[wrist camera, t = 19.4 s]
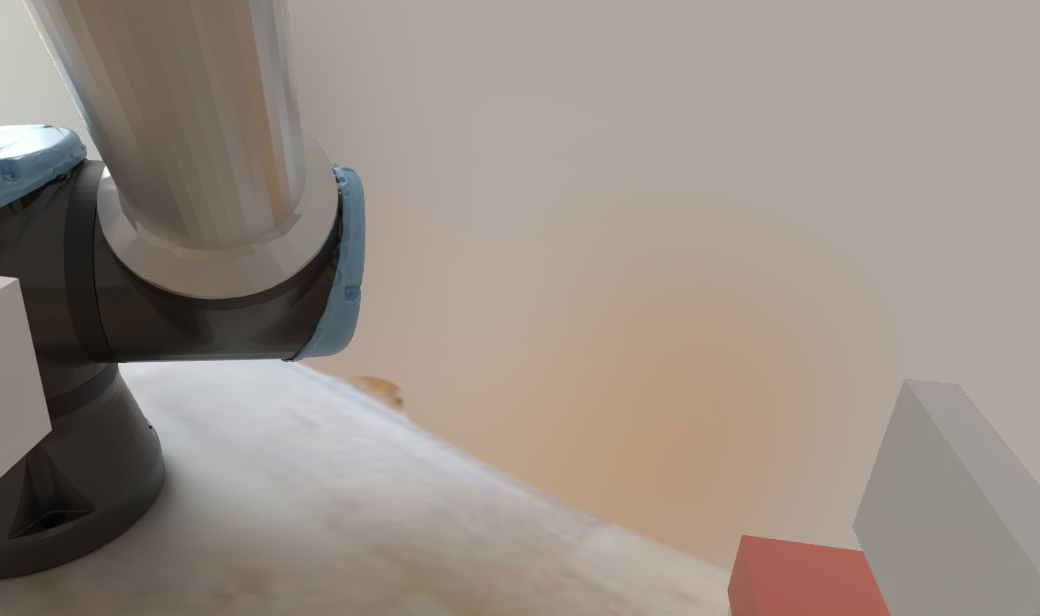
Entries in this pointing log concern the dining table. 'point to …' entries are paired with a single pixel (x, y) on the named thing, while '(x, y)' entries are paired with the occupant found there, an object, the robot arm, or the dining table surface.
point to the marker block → (801, 581)
